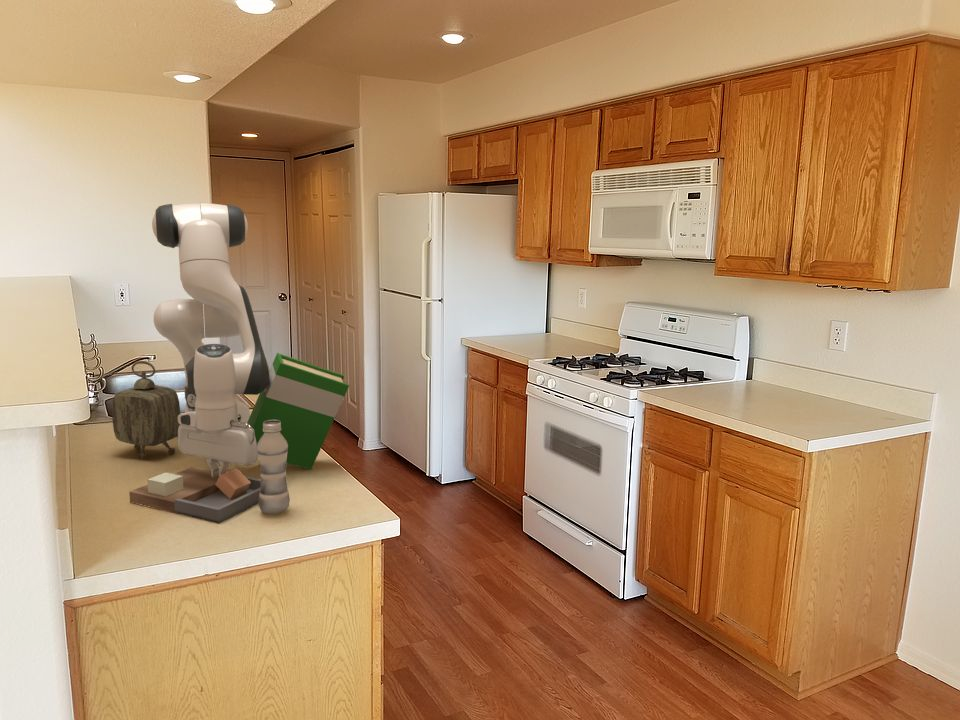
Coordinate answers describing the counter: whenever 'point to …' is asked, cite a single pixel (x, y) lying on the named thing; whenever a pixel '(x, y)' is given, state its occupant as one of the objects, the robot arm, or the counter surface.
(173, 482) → the cream block
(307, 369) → the hardback book
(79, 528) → the counter surface
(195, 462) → the counter surface
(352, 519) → the counter surface
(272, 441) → the plastic bottle
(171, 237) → the robot arm
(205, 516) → the tray
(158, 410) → the tabletop clock
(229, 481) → the orange square block
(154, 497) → the walnut board
